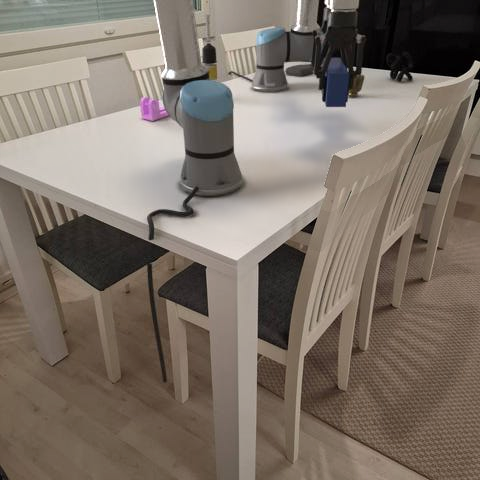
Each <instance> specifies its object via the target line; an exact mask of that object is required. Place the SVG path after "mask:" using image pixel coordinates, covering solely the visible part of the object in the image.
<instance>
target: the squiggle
mask: <svg viewBox="0 0 480 480" xmlns="http://www.w3.org/2000/svg"><path fill="white" fill-rule="evenodd" d="M401 57H402V59H401ZM391 59H392V60H391ZM393 60H394V61H393ZM385 61H386V64H387V67H390V68H391V70H390V72H389V78H390V79H391V80H395V79H396V81H397V82H399V83H400V82H402V81H403V79H404V76H406V78H407V80H408V81H412V80H413V79H414V77H413V75H412V74H411V73H410V72H409V71H410V70H412V69H413V68H414V64H413V61H412V57H411V54H410V53H409V52H408V51H403V53H402V54H401V55H396V54H394V53H392V52H390V53H387V55H386V57H385ZM406 62H407V65H408V66H407V67H405V66H404V65H405V64H406ZM400 70H401V71H400Z"/></svg>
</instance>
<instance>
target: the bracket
mask: <svg viewBox="0 0 480 480" xmlns="http://www.w3.org/2000/svg"><path fill="white" fill-rule="evenodd" d="M139 108H140V115H141V119H143V120H146V121H151V122H154V121H157V120H160V119H163V118H166V117H170V116H169V115H168V113H167V112H166V110H165V108H164V106H163V107H160V102H159V100H158V99H156V98H150V97H146V96H143V97H141V98H140V100H139Z"/></svg>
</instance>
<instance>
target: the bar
mask: <svg viewBox="0 0 480 480" xmlns="http://www.w3.org/2000/svg"><path fill="white" fill-rule="evenodd" d="M325 58H326V57H324V59H323V62H322V66H323V64H324V61H325ZM325 76H327V88H326V100H325V102H324V105H325V108H346V107H347V102H346V100H347V91H348V82H349V71H348V68H347V69H346V67H345V65H344V64H343V62H342V57H332V58H331V61H330V63H329V66H328V69H327V72H326V74H325ZM320 91H321V94H322V93H323V89H322V90H320Z"/></svg>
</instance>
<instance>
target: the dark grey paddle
mask: <svg viewBox="0 0 480 480" xmlns="http://www.w3.org/2000/svg"><path fill="white" fill-rule="evenodd" d="M321 67H322V65H321ZM284 72H285V75H287V76H294V77H304V76H308V75H311V74H313V73H314V66H312V64H311V63H307V64H295V65H292V66H288V67H286V68H285V69H284Z"/></svg>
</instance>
